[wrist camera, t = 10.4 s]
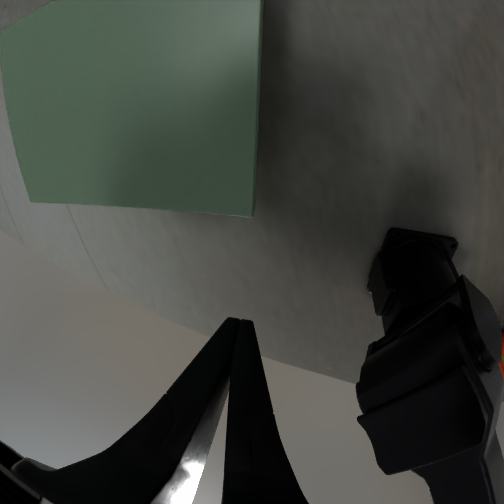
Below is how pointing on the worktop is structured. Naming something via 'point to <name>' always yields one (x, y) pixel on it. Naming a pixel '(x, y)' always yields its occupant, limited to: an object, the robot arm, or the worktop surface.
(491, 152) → the worktop surface
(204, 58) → the lid
